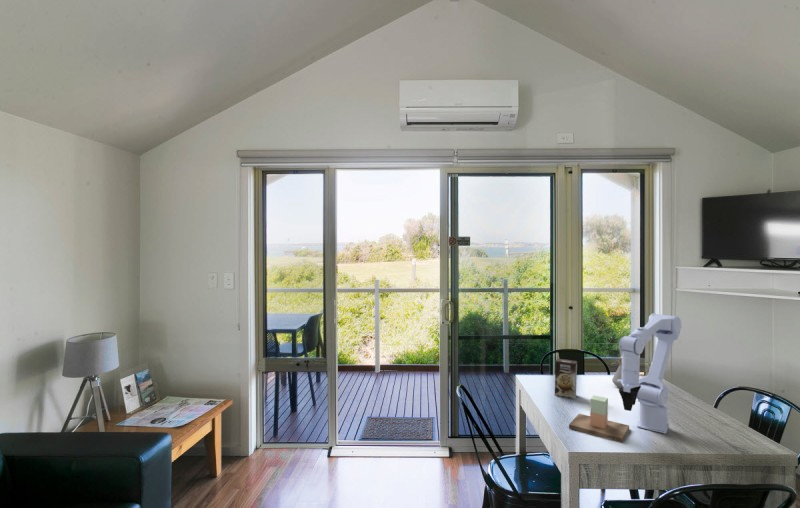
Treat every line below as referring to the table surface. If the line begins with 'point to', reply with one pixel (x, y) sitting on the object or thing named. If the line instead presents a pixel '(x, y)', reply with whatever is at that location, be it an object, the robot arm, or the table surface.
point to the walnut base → (610, 432)
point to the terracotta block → (598, 420)
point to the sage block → (599, 405)
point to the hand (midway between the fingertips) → (629, 407)
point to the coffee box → (565, 378)
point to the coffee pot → (618, 375)
